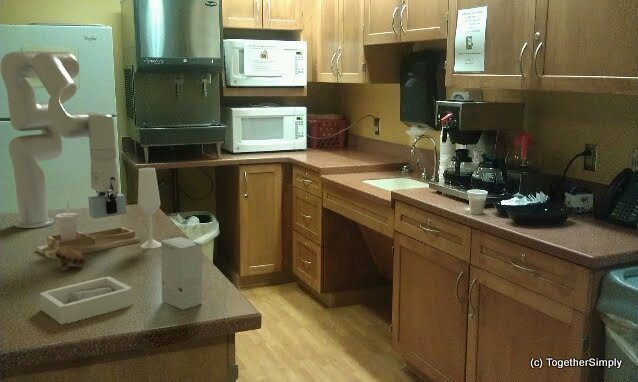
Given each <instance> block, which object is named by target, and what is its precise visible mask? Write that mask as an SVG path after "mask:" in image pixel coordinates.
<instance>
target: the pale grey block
mask: <svg viewBox="0 0 638 382" xmlns="http://www.w3.org/2000/svg"><path fill="white" fill-rule="evenodd" d="M109 196H110V194H109ZM106 201H107V198H106V195H102V196H97V195H94V196H88V209H89V217H91V218H93V219H101V218H108V217H115V216H122V215H123V216H124V215H127V205H126V204H127V203H126V195H125V194H123V193H122V192H121V193H118V194H117V200H116V203H117V213H113V214H107V211H106Z"/></svg>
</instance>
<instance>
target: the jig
mask: <svg viewBox="0 0 638 382" xmlns="http://www.w3.org/2000/svg"><path fill="white" fill-rule="evenodd" d="M46 242H47V244H44V245H39V246H36V252H38V253H41V254H42V255H44V256H46V257H47V258H49V259H51V260H53V261H54V260H59V259H58V258H57V257H56V252H57V251H58V250H60V249H62V248H70V249H73V250H76V251H78V252H80V253H81V254H83V255H84V254H89V253H93V252H98V251H102V250H107V249H112V248H116V247H121V246H126V245H130V244H136V243H139V242H141V240H140V237H138V236H136V231H134V230H132V229H129V228H126V227H123V226H119V227H118V226H117V227H114V228H108V229H103V230H98V231H94V232H93V231H92V232H87V233H84V232H81V231H80V230H77V236H76V239H72V240H67V241H62V240H61V236H60V233H59V234H54V235H48V236H46Z"/></svg>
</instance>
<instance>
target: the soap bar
mask: <svg viewBox="0 0 638 382" xmlns="http://www.w3.org/2000/svg"><path fill="white" fill-rule="evenodd" d="M110 292H113V291H112V290H111V288H109V287H106V286H102V287H98V288H93V289H87V290H82V291H78V292H71V293H70V296H69V298H68V300H69V303H72V302H76V301H80V300H84V299H87V298H91V297H95V296H99V295H103V294H107V293H110Z"/></svg>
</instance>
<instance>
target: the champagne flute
mask: <svg viewBox="0 0 638 382" xmlns="http://www.w3.org/2000/svg"><path fill="white" fill-rule="evenodd" d="M158 185H159V184H158V179H157V173H156V168H155V167H141V168H138V187H137V192H138V193H137V207H138V208H139V210H140V211H141V212H142V213H143V214H145V215H147V221H148V222H147V223H148V240H147V241H145V242H144V243H142V244H141V245H140V248H142V249H156V248H160V247H161V241H160V242H159V241H157V240H155V239H154V232H153V231H154V229H153V215H154V214H155V213H156V212H157V211H158V210H159V209H160V207H161V199H160V191H159V186H158Z"/></svg>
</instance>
